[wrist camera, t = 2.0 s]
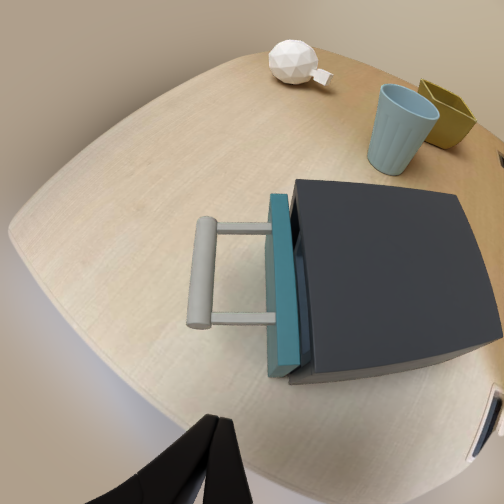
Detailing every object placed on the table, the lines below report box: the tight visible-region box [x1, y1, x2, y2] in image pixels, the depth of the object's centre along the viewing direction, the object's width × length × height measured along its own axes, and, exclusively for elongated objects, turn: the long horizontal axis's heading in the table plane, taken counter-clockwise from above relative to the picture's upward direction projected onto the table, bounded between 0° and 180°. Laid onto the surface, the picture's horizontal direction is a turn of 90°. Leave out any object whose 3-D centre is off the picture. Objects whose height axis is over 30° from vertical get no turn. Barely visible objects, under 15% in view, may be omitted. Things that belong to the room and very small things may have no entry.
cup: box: [367, 84, 440, 176], centre depth 29 cm, size 8×8×10 cm
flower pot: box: [418, 79, 477, 149], centre depth 35 cm, size 9×9×9 cm
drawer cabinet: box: [288, 179, 503, 385], centre depth 20 cm, size 15×13×9 cm
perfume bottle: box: [269, 40, 333, 85], centre depth 41 cm, size 9×9×12 cm
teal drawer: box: [186, 194, 311, 377], centre depth 19 cm, size 18×11×7 cm, turn 90°
